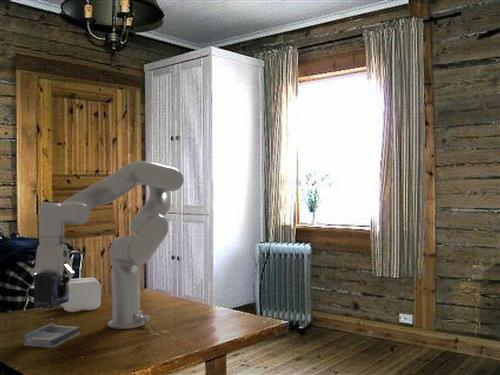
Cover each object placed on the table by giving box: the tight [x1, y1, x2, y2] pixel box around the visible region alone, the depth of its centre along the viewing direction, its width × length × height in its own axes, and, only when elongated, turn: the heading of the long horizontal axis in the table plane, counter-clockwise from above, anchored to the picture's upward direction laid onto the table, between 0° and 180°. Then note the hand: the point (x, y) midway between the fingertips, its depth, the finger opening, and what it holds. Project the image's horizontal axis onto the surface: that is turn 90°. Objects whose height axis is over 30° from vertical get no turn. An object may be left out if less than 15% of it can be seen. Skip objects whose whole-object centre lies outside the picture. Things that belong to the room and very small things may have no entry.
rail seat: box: [23, 322, 81, 349], centre depth 164 cm, size 10×14×3 cm
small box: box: [33, 272, 69, 309], centre depth 164 cm, size 11×6×10 cm, turn 168°
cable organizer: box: [60, 277, 102, 313], centre depth 206 cm, size 15×11×12 cm
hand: (52, 296), depth 164 cm, fingers closed on small box, 6 cm apart
